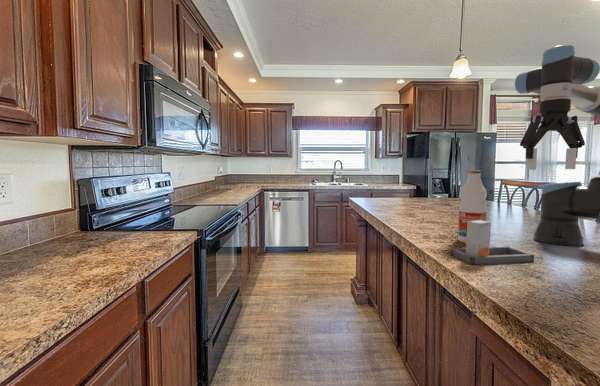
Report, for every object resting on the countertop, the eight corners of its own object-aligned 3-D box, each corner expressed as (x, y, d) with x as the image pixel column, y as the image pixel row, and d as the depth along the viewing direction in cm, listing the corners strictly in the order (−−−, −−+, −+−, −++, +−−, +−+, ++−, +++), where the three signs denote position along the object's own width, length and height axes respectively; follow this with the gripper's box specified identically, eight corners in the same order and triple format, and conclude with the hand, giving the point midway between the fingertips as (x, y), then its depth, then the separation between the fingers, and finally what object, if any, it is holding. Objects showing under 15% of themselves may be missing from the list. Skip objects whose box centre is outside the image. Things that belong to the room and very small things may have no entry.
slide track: (506, 251, 112) (507, 245, 112) (533, 261, 101) (534, 254, 101) (450, 254, 109) (450, 247, 109) (471, 264, 99) (472, 257, 98)
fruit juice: (490, 243, 123) (494, 170, 121) (468, 245, 122) (471, 170, 119) (473, 238, 132) (476, 170, 130) (452, 239, 131) (455, 170, 128)
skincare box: (477, 261, 101) (478, 223, 100) (465, 257, 105) (466, 221, 104) (489, 258, 104) (491, 221, 103) (477, 255, 108) (478, 219, 107)
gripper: (528, 96, 93) (524, 170, 95) (603, 98, 97) (598, 169, 99) (508, 101, 101) (505, 169, 103) (579, 102, 104) (574, 168, 106)
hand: (550, 169), depth 101 cm, fingers open, 13 cm apart
